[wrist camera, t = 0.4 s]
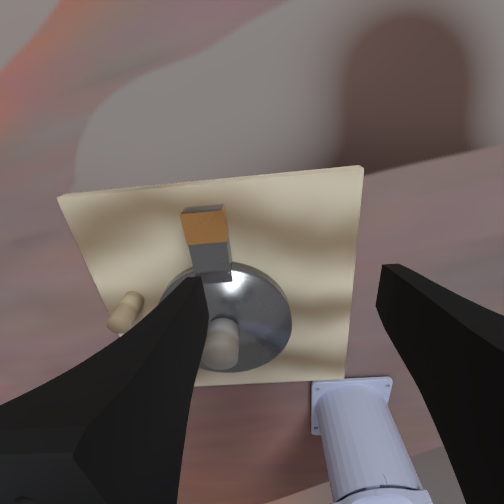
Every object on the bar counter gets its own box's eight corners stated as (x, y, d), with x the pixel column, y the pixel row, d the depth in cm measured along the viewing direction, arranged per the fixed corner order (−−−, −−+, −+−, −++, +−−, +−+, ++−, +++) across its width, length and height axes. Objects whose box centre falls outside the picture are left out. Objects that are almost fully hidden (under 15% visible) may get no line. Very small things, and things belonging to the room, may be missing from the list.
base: (341, 370, 27) (362, 436, 22) (146, 380, 29) (121, 445, 23) (358, 165, 18) (403, 193, 12) (65, 193, 19) (-11, 230, 14)
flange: (292, 356, 23) (293, 369, 22) (177, 363, 24) (173, 376, 23) (285, 197, 17) (287, 204, 16) (126, 212, 17) (117, 220, 16)
